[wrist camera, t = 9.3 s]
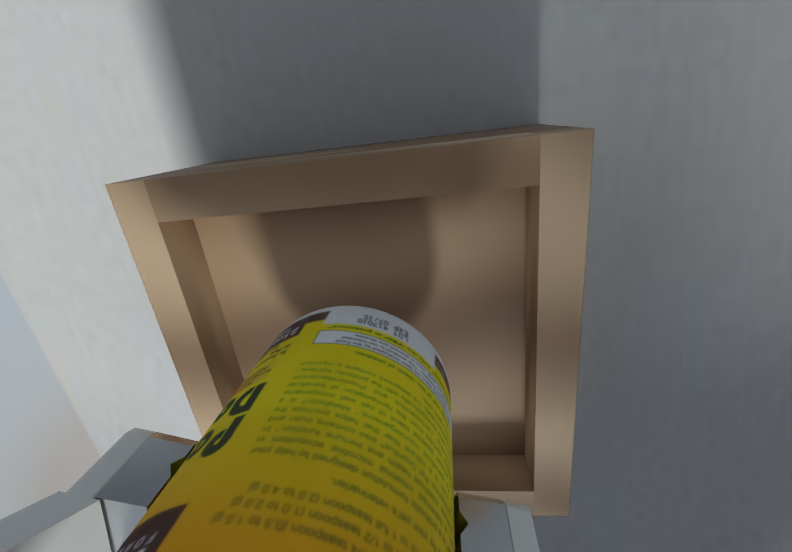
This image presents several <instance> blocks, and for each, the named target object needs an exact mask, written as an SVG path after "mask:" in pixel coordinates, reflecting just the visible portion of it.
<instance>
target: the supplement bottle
mask: <svg viewBox="0 0 792 552" xmlns="http://www.w3.org/2000/svg"><path fill="white" fill-rule="evenodd" d="M117 552H455V524H454V489H453V461H452V421H451V398H450V386H449V380H448V376H447V373H446V370H445V367H444V364H443V362H442V360H441V358H440V356H439V354H438V353H437V351H436V350H435V348H434V347H433V346H432V344H431V343H430V342H429V341H428V340H427V339H426V338H425V337H424V336H423V335H422V334H421V333H420V332H419V331H418V330H416V329H415V328H414V327H413V326H411V325H410V324H408V323H407V322H405V321H403V320H401V319H400V318H398V317H396V316H393V315H391V314H389V313H386V312H383V311H380V310H377V309H373V308H368V307H361V306H334V307H328V308H324V309H320V310H317V311H314V312H311V313H309V314H306V315H305V316H303V317H301V318H299V319H298V320H296V321H294V322H293V323H292V324H290V325H289V326H288V327H287V328H286V329H285V330H284V331H283V332H282V333H281V334H280V335H279V336H278V337H277V338H276V340H275V341H274V342H273V343H272V345H271V346H270V347H269V348H268V349H267V351H266V352H265V353H264V355H263V356H262V357H261V359H260V360H259V362H258V363H257V364H256V366H255V367H254V368H253V369H252V371H251V372H250V374H249V375H248V377H247V378H246V379H245V381H244V382H243V383H242V384H241V386H240V387H239V388H238V390H237V391H236V392H235V394H234V395H233V396H232V398H231V399H230V400H229V402H228V403H227V404H226V406H225V407H224V408H223V410H222V411H221V412H220V414H219V415H218V416H217V418H216V419H215V421H214V422H213V423H212V425H211V426H210V427H209V429H208V430H207V431H206V433H205V434H204V435H203V437H202V438H201V439H200V441H199V442H198V443H197V445H196V446H195V447H194V449H193V450H192V451H191V453H190V454H189V456H188V457H187V458H186V460H185V461H184V462H183V464H182V465H181V466H180V468H179V469H178V470H177V472H176V473H175V475H174V476H173V477H172V479H171V480H170V481H169V483H168V484H167V485H166V487H165V488H164V489H163V491H162V492H161V493H160V495H159V496H158V497H157V499H156V500H155V501H154V503H153V504H152V505H151V507H150V508H149V509H148V511H147V512H146V513H145V515H144V516H143V517H142V519H141V520H140V521H139V523H138V524H137V525H136V527H135V528H134V529H133V531H132V532H131V533H130V535H129V536H128V537H127V539H126V540H125V541H124V543H123V544H122V545H121V547H120V548H119V549H118V551H117Z"/></svg>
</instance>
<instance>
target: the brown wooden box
mask: <svg viewBox="0 0 792 552" xmlns="http://www.w3.org/2000/svg"><path fill="white" fill-rule="evenodd" d="M593 140H594V129H593V128H580V127H567V126H554V125H541V124H537V125H529V126H520V127H512V128H504V129H495V130H487V131H478V132H470V133H461V134H453V135H444V136H436V137H427V138H419V139H411V140H402V141H394V142H385V143H377V144H368V145H360V146H351V147H343V148H335V149H326V150H318V151H309V152H301V153H292V154H284V155H275V156H267V157H258V158H250V159H242V160H233V161H225V162H216V163H210V164H205V165H200V166H195V167H190V168H185V169H180V170H175V171H170V172H165V173H160V174H155V175H150V176H146V177H141V178H136V179H131V180H126V181H121V182H116V183H111V184H106V185H105V186H106V188H107V191H108V194H109V196H110V199H111V201H112V204H113V207H114V209H115V212H116V214H117V217H118V220H119V222H120V225H121V227H122V230H123V233H124V235H125V238H126V240H127V243H128V246H129V248H130V251H131V253H132V256H133V259H134V261H135V264H136V266H137V269H138V272H139V274H140V277H141V279H142V282H143V284H144V287H145V290H146V292H147V295H148V297H149V300H150V303H151V305H152V308H153V310H154V313H155V316H156V318H157V321H158V323H159V326H160V329H161V331H162V334H163V336H164V339H165V342H166V344H167V347H168V349H169V352H170V355H171V357H172V360H173V362H174V365H175V368H176V370H177V373H178V375H179V378H180V380H181V383H182V386H183V388H184V391H185V393H186V396H187V399H188V401H189V404H190V406H191V409H192V412H193V414H194V417H195V419H196V422H197V425H198V427H199V430H200V432H201V435H202V437H203V435H204V434H205V433H206V431H207V430H208V429H209V427H210V426H211V425H212V423H213V422H214V421H215V419H216V418H217V416H218V415H219V414H220V412H221V411H222V410H223V408H224V407H225V406H226V404H227V403H228V402H229V400H230V399H231V398H232V396H233V395H234V394H235V392H236V391H237V390H238V388H239V387H240V386H241V384H242V383H243V382H244V381H245V379H246V378H247V377H248V375H249V374H250V372H251V371H252V369H253V368H254V367H255V366H256V364H257V363H258V362H259V360H260V359H261V357H262V356H263V355H264V353H265V352H266V351H267V349H268V348H269V347H270V346H271V345H272V343H273V342H274V341H275V340H276V338H277V337H278V336H279V335H280V334H281V333H282V332H283V331H284V330H285V329H286V328H287V327H288V326H289V325H290V324H292V323H293V322H294V321H296V320H298V319H299V318H301V317H303V316H305V315H306V314H309V313H311V312H314V311H317V310H320V309H324V308H328V307H334V306H361V307H368V308H373V309H377V310H380V311H383V312H386V313H389V314H391V315H393V316H396V317H398V318H400V319H401V320H403V321H405V322H407V323H408V324H410V325H411V326H413V327H414V328H415V329H416V330H418V331H419V332H420V333H421V334H422V335H423V336H424V337H425V338H426V339H427V340H428V341H429V342H430V343H431V344H432V346H433V347H434V348H435V350H436V351H437V353H438V354H439V356H440V358H441V360H442V362H443V364H444V367H445V370H446V373H447V376H448V380H449V386H450V398H451V421H452V461H453V489H454V495H455V493H456V492H461V493H467V494H472V495H478V496H483V497H489V498H494V499H500V500H502V501H507V502H512V503H517V504H523V505H527V506H528V508H529V509H530V511H531V515H532V516H569V502H570V487H571V472H572V456H573V441H574V426H575V411H576V396H577V381H578V366H579V351H580V336H581V321H582V306H583V290H584V275H585V260H586V245H587V230H588V215H589V200H590V185H591V170H592V155H593Z"/></svg>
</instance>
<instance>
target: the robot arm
mask: <svg viewBox="0 0 792 552" xmlns="http://www.w3.org/2000/svg"><path fill="white" fill-rule="evenodd" d="M197 443H198V441H194V440H189V439H185V438H180V437H176V436H172V435H167V434H163V433H158V432H154V431H149V430H144V429H139V428H134V429H132V430H130V431H128V432H127V433H125V434H124V435H123V436H122V437H121V438H120V439H119V440H118V441H117V442H116V443H115V444H114V445H113V446H112V447H111V448H110V449H109V450H108V451H107V452H106V453H105V454H104V455H103V456H102V457H101V458H100V459H99V460H98V461H97V462H96V464H94V465H93V466H92V467H91V468H90V469H89V470H88V471H87V472H86V474H84V475H83V476H82V477H81V478H80V479H79V480H78V481H77V482H76V483H75V484H74V485H73V486H72V487H71V488H70V489H69V490H68V491H67V492H60V491H59V492H57V493H55V494H53V495H51V496H48V497H46V498H44V499H42V500H40V501H38V502H36V503H34V504H32V505H30V506H28V507H26V508H24V509H22V510H20V511H18V512H16V513H14V514H11V515H9V516H7V517H5V518H3V519H1V520H0V552H117V551H118V549H119V548H120V547H121V545H122V544H123V543H124V541H125V540H126V539H127V537H128V536H129V535H130V533H131V532H132V531H133V529H134V528H135V527H136V525H137V524H138V523H139V521H140V520H141V519H142V517H143V516H144V515H145V513H146V512H147V511H148V509H149V508H150V507H151V505H152V504H153V503H154V501H155V500H156V499H157V497H158V496H159V495H160V493H161V492H162V491H163V489H164V488H165V487H166V485H167V484H168V483H169V481H170V480H171V479H172V477H173V476H174V475H175V473H176V472H177V470H178V469H179V468H180V466H181V465H182V464H183V462H184V461H185V460H186V458H187V457H188V456H189V454H190V453H191V451H192V450H193V449H194V447H195V446H196V445H197ZM454 524H455V552H540V549H539V545H538V541H537V536H536V532H535V528H534V523H533V519H532V515H531V511H530V509H529V508H528V506H527V505H523V504H517V503H512V502H507V501H502V500H500V499H494V498H489V497H483V496H478V495H472V494H467V493H461V492H456V493H455V495H454Z"/></svg>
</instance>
